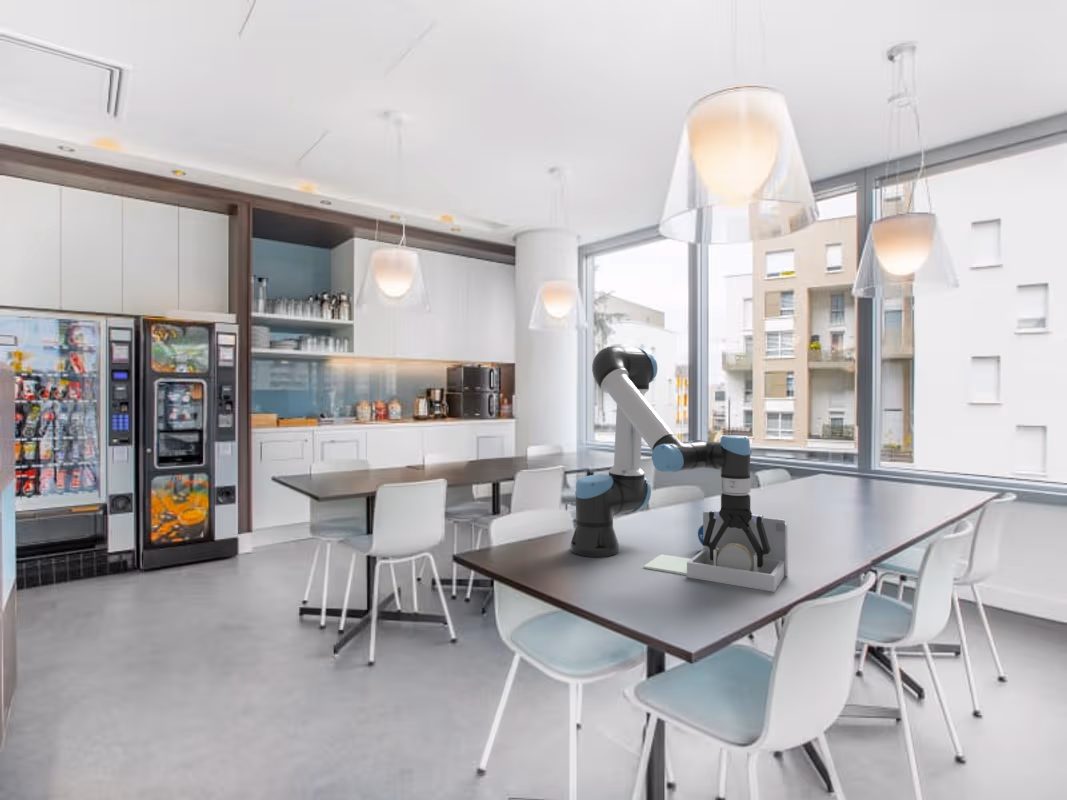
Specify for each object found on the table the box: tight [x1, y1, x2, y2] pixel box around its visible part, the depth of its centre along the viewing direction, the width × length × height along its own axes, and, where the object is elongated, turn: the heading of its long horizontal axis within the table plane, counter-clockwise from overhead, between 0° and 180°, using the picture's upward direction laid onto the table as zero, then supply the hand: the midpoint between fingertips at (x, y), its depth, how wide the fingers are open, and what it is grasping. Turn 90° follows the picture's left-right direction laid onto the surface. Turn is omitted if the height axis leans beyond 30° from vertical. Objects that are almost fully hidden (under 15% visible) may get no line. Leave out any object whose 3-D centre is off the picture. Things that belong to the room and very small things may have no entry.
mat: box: [643, 553, 706, 576], centre depth 164 cm, size 14×14×1 cm
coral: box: [717, 543, 754, 571], centre depth 153 cm, size 10×10×10 cm
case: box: [686, 510, 789, 593], centre depth 154 cm, size 23×16×15 cm
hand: (736, 575), depth 153 cm, fingers closed on coral, 10 cm apart
